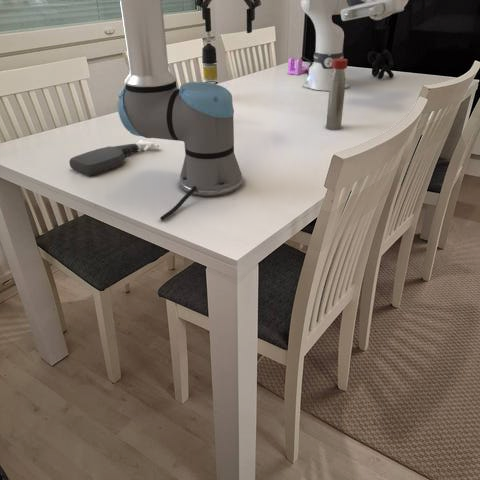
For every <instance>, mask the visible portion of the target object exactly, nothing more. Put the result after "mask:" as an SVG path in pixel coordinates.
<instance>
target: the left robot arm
mask: <svg viewBox="0 0 480 480" xmlns="http://www.w3.org/2000/svg"><path fill="white" fill-rule="evenodd" d="M212 1H213V0H196V1H195V6H197V7H200V8H201V12H202V13H201V16H202V17H201V18H202V20H203V21H204V24H205V33H206V32H210V33H211V32H212V15H211V7H209V5H210V4H211V3H212ZM243 1H244V2H245V4H246V5H247V6H248V8H246V34H251V33H252V32H253V21H255V19H256V8H258V7H260V6H261V5H262V2H261V0H243ZM119 3H120V9H121V17H122V24H123V32H124V37H125V45H126V51H127V58H128V67H129V74H128V76H127V77H126V78H125V80H124V86H123V87H122V89H121V90H120V92H119V94H118V100H117V113H118V116H119V119H120V121H121V124H122V126H123V127H124V128H125V130H126V131H128V132H129V133H130V134H131V135H133V136H137V137H141V138H144V139H159V140H166V141H167V140H169V141H179V142H183V143H184V154H185V155H184V158H183V164H182V168H181V171H180V177H179V178H180V179H179V183H180V184H179V185H180V188H181V189H182V191H184V192H186V194H184V196H183V197H182V198H181V199H180V200H179V201H178V202H177V203H176V205H174V206H173V208H171V209H170V210H168V211H167V212H166V213H164V214H163V215H161V216H160V220H161V221H165V219H167V218H169V217H170V216H171V215H173V214H174V213H175V212H176V211H178V209H180V207H181V206H182V205H184V203H185V202H186V201H187V200H188V199H189V197H190V196H191V195H194V196H199V197H221V196H224V195H229V194H232V193H234V192H235V191H237V190H239V189H240V188H241V187H242V185H243V174H242V171H241V168H240V165H239V163H238V160H237V157H236V154H235V132H234V131H235V129H234V127H235V126H234V122H235V121H234V114H235V109H234V104H233V96H232V93H231V91H230V90H228V89H227V88H226V87H224V86H222V85H219V84H218V83H217V84H215V83H214V82H207V81H199V82H198V81H189V82H185V83H183V84H181V85H180V87H179V88H177V87H178V86H177V77H176V76H175V75H174V74H173V73H171V71H170V70H169V60H168V52H167V51H168V50H167V40H166V30H165V21H164V18H165V17H164V10H163V9H164V7H163V0H119Z"/></svg>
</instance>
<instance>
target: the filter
mask: <svg viewBox="0 0 480 480" xmlns="http://www.w3.org/2000/svg"><path fill="white" fill-rule="evenodd" d="M205 33H206V39H207V40H206V42H207V43H206V45H204V46H202V49H201V50H202V51H201V52H202V54H201V55H202V57H201V58H202V61H201V63H202V71H203V72H202V73H203V74H202V75H203V80H204V81H206V82H207V83H214V84H217V85H218V84H219V82H218V81H216V80H218V64H216V63H218V61H217V48H216V47H215V46H214V45H212V43H210V42H211V40H210V39H211V31H210V32H206V31H205Z"/></svg>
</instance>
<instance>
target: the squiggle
mask: <svg viewBox="0 0 480 480" xmlns="http://www.w3.org/2000/svg"><path fill="white" fill-rule="evenodd" d="M382 55H383V56H382ZM373 57H374V58H373ZM367 61H368V63H369V64H371V65H372V68H371V76H372V77H374V78H375V77H377V78H378V79H379V80H382V79H383V78H384V75H385V73H386V74H387V75H388V77H389V78H394V72H393V71H392V69H390V68H392V67H393V66H394V60H393V57H392V54H391V51H389V50H388V49H384V51H383V52H382V54H381V53H377V52H376V51H373V50H371V51H369V52H368V53H367ZM386 61H388V64H386Z"/></svg>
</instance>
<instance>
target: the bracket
mask: <svg viewBox="0 0 480 480" xmlns="http://www.w3.org/2000/svg"><path fill="white" fill-rule="evenodd" d="M306 70H308V72H309V66H304V65H303V58H302V59H301V58H298V57H297V58H296V60H295V57H289V58H288V61H287V74H288V75H295V76H298V75H301V74H304V73H307V72H306Z"/></svg>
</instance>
